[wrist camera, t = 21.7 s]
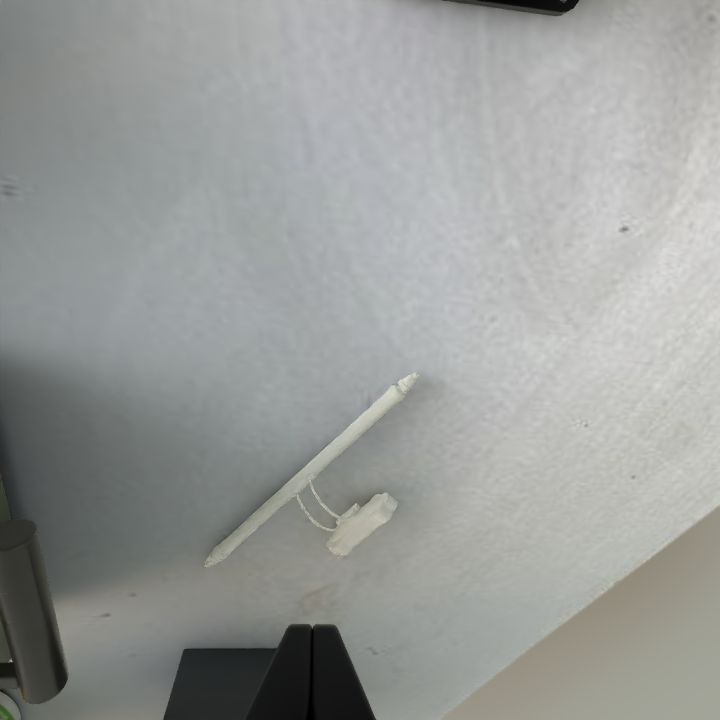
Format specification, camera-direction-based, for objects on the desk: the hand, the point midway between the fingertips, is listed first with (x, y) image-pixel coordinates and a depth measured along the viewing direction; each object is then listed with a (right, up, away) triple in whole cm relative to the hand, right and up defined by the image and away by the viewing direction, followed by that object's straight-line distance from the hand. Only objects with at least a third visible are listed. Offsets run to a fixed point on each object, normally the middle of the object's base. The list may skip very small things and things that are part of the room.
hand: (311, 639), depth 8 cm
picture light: (0, -1, +14) cm, 14 cm away
